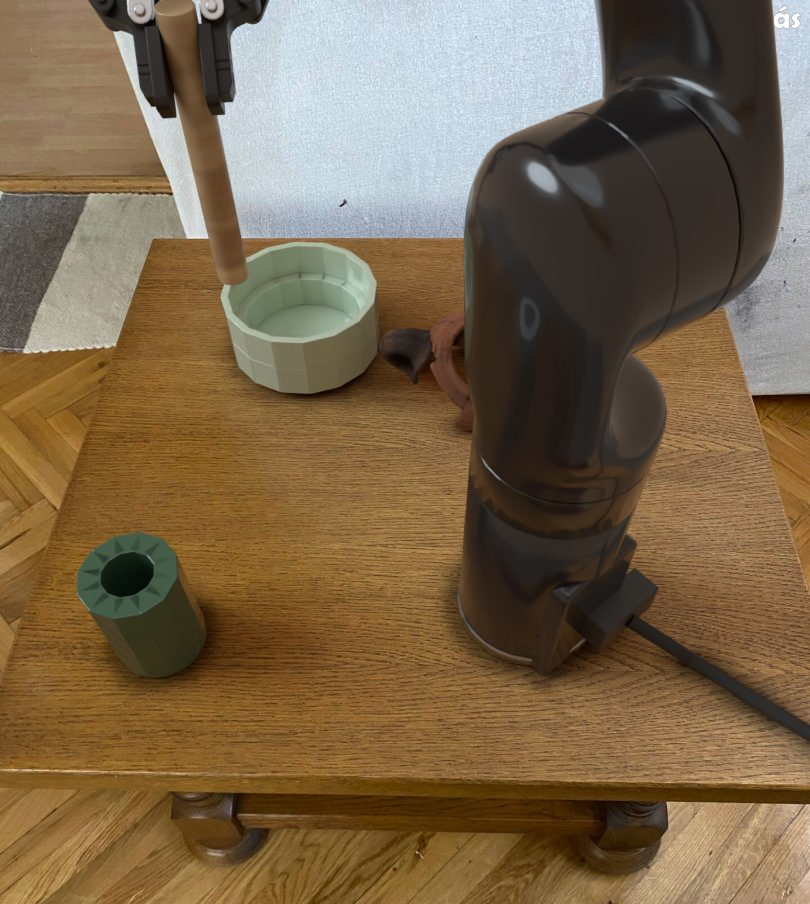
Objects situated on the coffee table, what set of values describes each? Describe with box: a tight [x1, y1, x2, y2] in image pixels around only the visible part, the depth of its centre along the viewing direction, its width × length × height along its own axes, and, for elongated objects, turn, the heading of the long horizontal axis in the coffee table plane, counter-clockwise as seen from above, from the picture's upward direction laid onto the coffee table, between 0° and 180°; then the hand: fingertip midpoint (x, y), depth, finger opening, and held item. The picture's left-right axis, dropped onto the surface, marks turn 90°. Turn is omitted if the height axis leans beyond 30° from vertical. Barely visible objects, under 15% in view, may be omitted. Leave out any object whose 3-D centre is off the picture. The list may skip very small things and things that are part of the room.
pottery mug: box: [378, 310, 474, 431], centre depth 65 cm, size 12×10×8 cm
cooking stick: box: [154, 0, 249, 285], centre depth 47 cm, size 2×2×16 cm
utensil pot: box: [76, 531, 207, 679], centre depth 51 cm, size 6×6×8 cm
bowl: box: [220, 241, 380, 395], centre depth 67 cm, size 12×12×6 cm
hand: (191, 110), depth 42 cm, fingers closed on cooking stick, 2 cm apart
